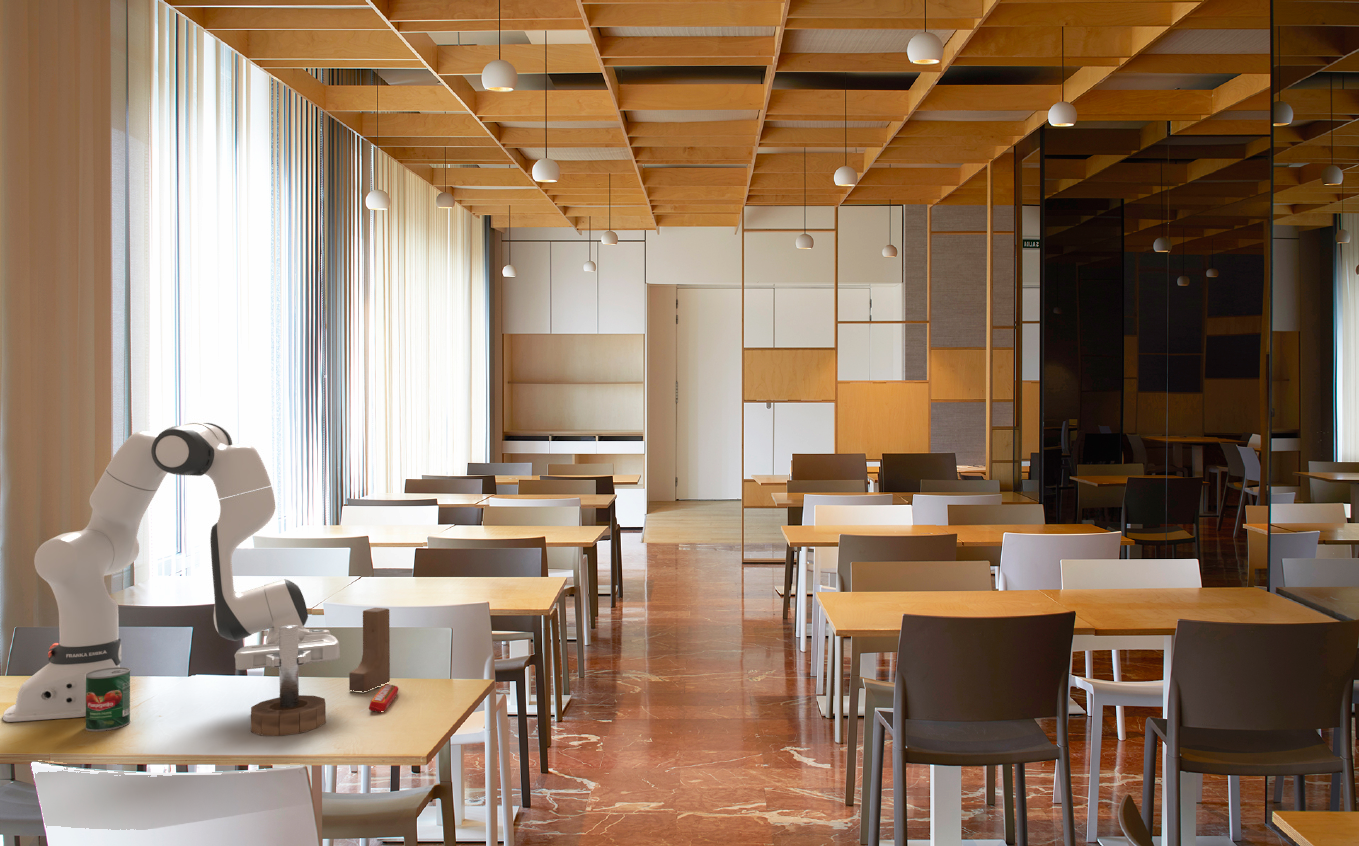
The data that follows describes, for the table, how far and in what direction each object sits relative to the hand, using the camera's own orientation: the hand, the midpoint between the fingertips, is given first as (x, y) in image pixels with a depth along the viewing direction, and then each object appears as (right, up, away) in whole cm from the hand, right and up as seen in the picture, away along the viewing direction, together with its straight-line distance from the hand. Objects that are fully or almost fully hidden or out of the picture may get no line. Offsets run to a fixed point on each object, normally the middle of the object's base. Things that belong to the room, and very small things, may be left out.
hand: (289, 662), depth 189 cm
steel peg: (0, -9, +1) cm, 9 cm away
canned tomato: (-38, -14, +1) cm, 40 cm away
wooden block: (+7, -14, +28) cm, 32 cm away
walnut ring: (0, -13, +1) cm, 13 cm away
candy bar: (+15, -14, +15) cm, 25 cm away
